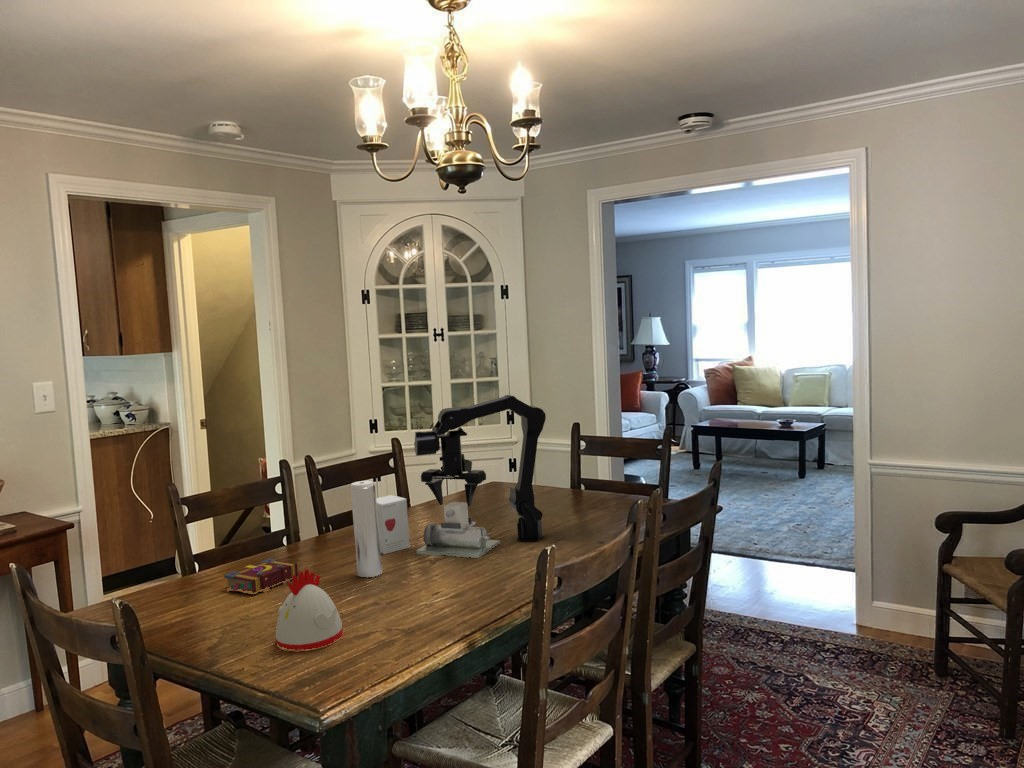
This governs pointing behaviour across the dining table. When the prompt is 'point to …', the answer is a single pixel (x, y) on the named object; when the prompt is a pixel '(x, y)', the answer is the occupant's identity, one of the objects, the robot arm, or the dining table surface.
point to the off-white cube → (456, 513)
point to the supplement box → (392, 523)
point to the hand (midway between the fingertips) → (455, 505)
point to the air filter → (366, 529)
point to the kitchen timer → (307, 616)
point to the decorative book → (261, 575)
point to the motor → (456, 540)
